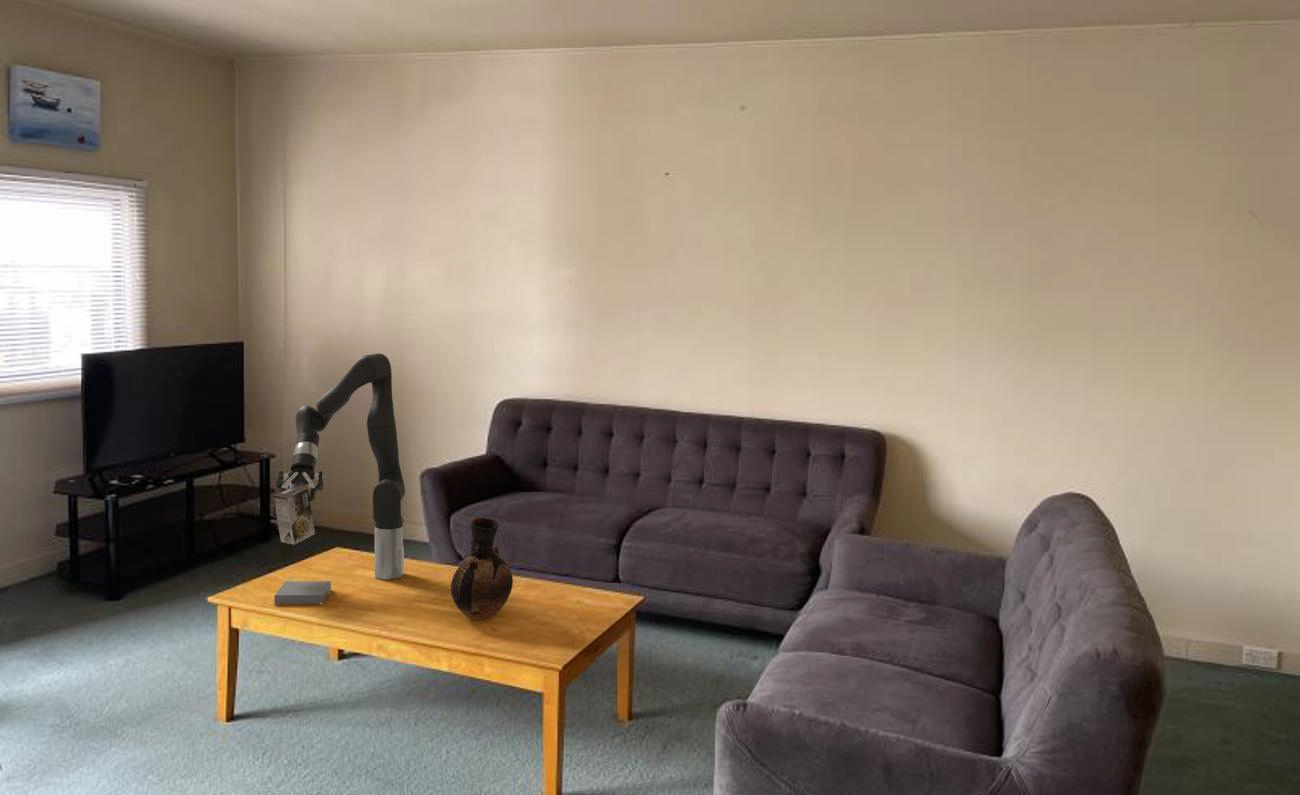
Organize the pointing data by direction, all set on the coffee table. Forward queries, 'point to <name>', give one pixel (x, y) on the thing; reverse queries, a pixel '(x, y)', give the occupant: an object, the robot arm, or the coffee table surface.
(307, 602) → the plinth
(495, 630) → the coffee table surface
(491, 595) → the ceramic vessel
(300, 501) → the coffee box
